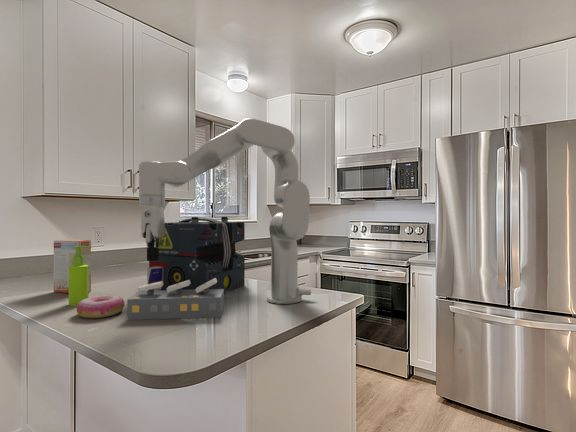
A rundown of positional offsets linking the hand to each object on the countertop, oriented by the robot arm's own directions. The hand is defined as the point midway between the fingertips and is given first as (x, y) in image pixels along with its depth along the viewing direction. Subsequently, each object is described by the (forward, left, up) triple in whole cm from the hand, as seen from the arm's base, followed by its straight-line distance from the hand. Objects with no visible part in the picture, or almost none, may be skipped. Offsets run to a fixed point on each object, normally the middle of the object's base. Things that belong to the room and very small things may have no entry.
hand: (153, 260), depth 111 cm
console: (-8, 0, -17) cm, 18 cm away
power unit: (-9, -36, -17) cm, 41 cm away
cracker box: (+41, -36, -17) cm, 57 cm away
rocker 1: (+1, 0, -8) cm, 8 cm away
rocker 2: (-8, 0, -8) cm, 11 cm away
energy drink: (+4, -17, -17) cm, 24 cm away
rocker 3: (-16, 0, -8) cm, 18 cm away
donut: (+16, -2, -17) cm, 24 cm away
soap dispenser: (+29, -16, -17) cm, 37 cm away
